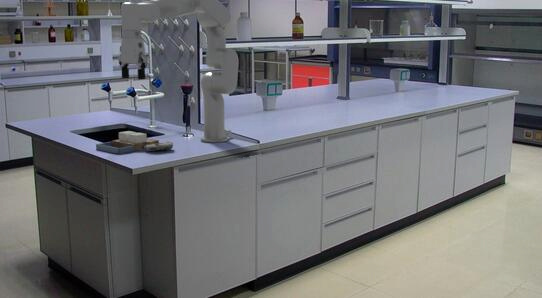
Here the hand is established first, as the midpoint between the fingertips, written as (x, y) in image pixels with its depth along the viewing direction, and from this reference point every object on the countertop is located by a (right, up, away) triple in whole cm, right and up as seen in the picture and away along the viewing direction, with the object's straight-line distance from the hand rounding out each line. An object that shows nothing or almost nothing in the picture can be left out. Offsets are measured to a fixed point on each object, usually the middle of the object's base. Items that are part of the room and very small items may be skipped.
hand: (133, 78), depth 235 cm
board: (-5, -27, +28) cm, 39 cm away
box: (-12, -29, +19) cm, 37 cm away
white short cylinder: (-9, -24, +28) cm, 38 cm away
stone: (+11, -30, +18) cm, 36 cm away
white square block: (-4, -25, +24) cm, 35 cm away
